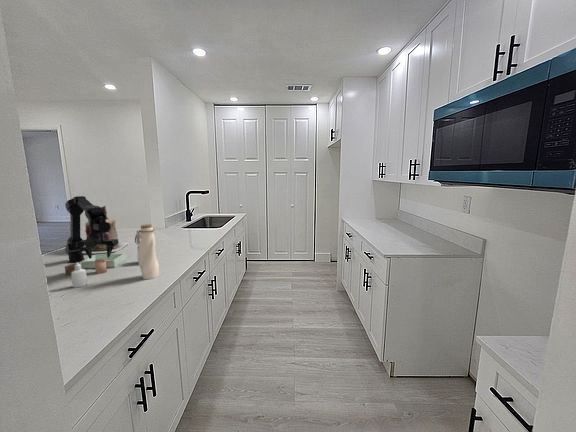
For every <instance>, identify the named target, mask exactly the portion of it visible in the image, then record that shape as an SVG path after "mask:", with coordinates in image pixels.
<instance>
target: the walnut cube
mask: <svg viewBox="0 0 576 432" xmlns="http://www.w3.org/2000/svg"><path fill="white" fill-rule="evenodd" d="M78 263H79V264H80V265H81V266H82V264H81V262H78ZM75 265H76V263H70V264H69V263H68V265H66V266H64V271H65V272H64V273H65V276H71V273H72V272H73V271H74V270H75Z"/></svg>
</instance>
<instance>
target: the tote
mask: <svg viewBox="0 0 576 432" xmlns="http://www.w3.org/2000/svg"><path fill="white" fill-rule="evenodd" d="M84 259H85V260H83V261H81V262H80V263H81V269H85V270H90V269H91V270H93V269H95V262H94V261H95V260H98V259H105V260H106V269H113V268H117V267H118V266H120V265H121V264H122V263H124V262H126V253H111V255H110V257H109V258H108V257H107V253H104V254H92V258H91V259H90V258H89V257H87V258H84Z"/></svg>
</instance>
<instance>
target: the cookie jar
mask: <svg viewBox="0 0 576 432" xmlns="http://www.w3.org/2000/svg"><path fill="white" fill-rule="evenodd" d="M100 207H101V208H102V209H103V211H104V212H105V214H106V215H107V213H108V212H107V207H106V205H103V206H100ZM106 222H108V223H109V224H110V226H111V228H110V230H109V231H108V232H106V233H103V235H104V238H105V240H104V241H107V240H110V239H117V240H118V241H119V237H118V232H117V228H116V219H112V218H111V219H110V218H108V217H107V220H106ZM84 230H85V231H84V232H85V236H86V239H87V238H88V237H89V233H90V226H89V222H88V221H87V222H85V229H84ZM128 244H129V241H127V242H120V243H119V244H117V245H115V246H114V247H113V249H112V252H111V253H113V252H118V251H119V250H121V249H123V248H125V247H126V246H128ZM106 247H107V246H106V244H101V245H96V246H95V247H91V249H92V255H97V254H107V249H106ZM82 253H83V255H84V254H86V255H87V253H86V252H85V251H82Z"/></svg>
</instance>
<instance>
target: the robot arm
mask: <svg viewBox="0 0 576 432" xmlns="http://www.w3.org/2000/svg"><path fill="white" fill-rule="evenodd" d="M64 205H65V209H66V211H67V212H68V214H70V215H69V217H70V225H69V226H70V237H68V239H67V241H66V242H67V243H66V245H65V246H64V247H65V248H64V252H65V254H67V255H68V261H67V264H69V263H70V264H76V263H77V262H78V263H81V261H83V260H85V259H86V258H85V257H84V254H83V253H82V251H85V252H86V253H87V254H86V253H85V254H86V255H87V258H90V259H91V258H92V256H93V254H92V249H91V247H95V246H96V245H101V244H106V246H107V247H106V249H107V253H106V254H107V257H108V258H109V257H110V255H111V254H112V253H113V252H112V249H113V247H114V246H115V245H117V244H119V239H118V240H117V239H110V240H107V241H104V240H105V238H104V235H103V233H106V232H108V231H109V230H110V228H111V226H110V224H109V223H108V222H106V220H107V218H108V216H107V214H105V212H104V211H103V209H102V208H101V207H102V206H99V205H94V204H93V203H92V202H90V201H89V200H88V199H87V198H86V196H83V195H77V196H73V198H70V199H68V200H67V201H66V202H65V204H64ZM83 213H84V216H85V217H86V219H87V222H89V226H90V233H89V237H88V238H87V237H86V238H85V239H83V238H82V237H81V215H82V214H83Z"/></svg>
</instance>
